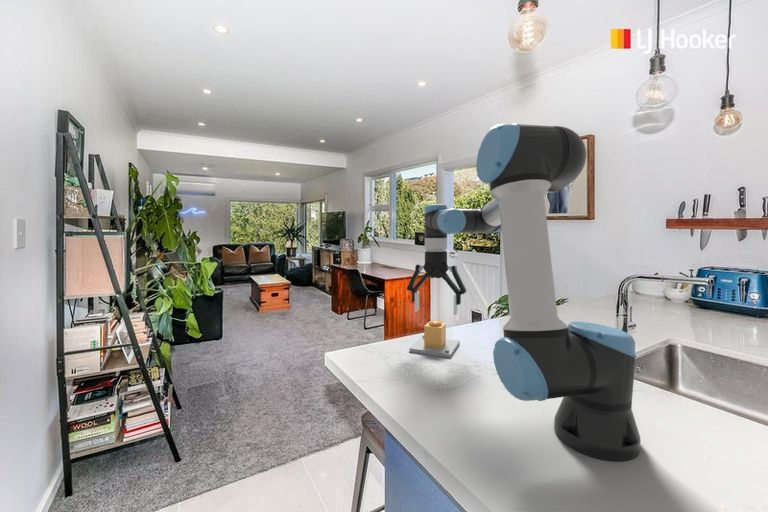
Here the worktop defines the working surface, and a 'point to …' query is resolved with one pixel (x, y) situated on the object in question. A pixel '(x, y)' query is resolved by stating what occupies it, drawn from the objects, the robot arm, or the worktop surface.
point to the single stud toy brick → (435, 334)
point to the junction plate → (444, 351)
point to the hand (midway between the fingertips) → (435, 312)
